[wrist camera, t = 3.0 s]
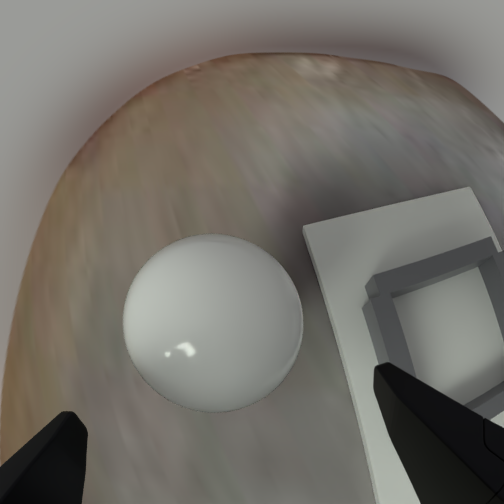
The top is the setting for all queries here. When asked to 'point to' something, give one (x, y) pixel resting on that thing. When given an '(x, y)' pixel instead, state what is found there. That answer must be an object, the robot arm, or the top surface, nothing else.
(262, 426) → the top surface
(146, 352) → the lightbulb
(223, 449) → the top surface
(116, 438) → the top surface
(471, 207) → the bulb holder
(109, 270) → the top surface
